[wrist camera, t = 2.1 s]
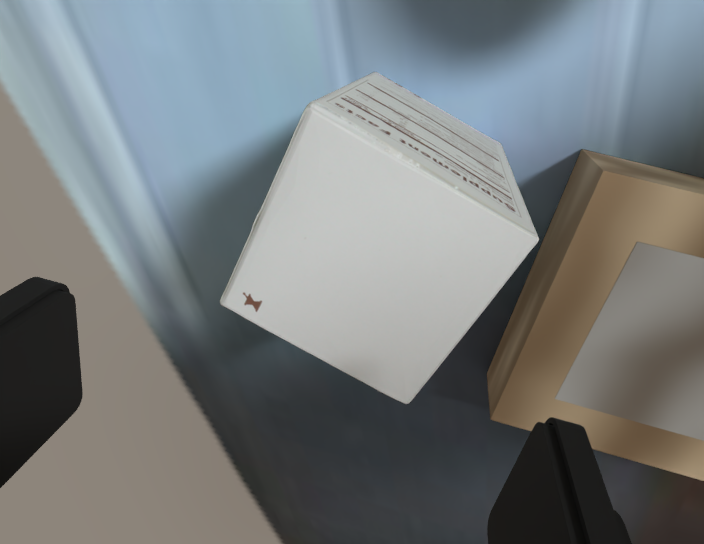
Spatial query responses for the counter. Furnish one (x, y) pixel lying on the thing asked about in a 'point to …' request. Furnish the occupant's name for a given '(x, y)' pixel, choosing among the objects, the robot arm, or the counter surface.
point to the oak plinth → (614, 317)
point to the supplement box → (381, 236)
